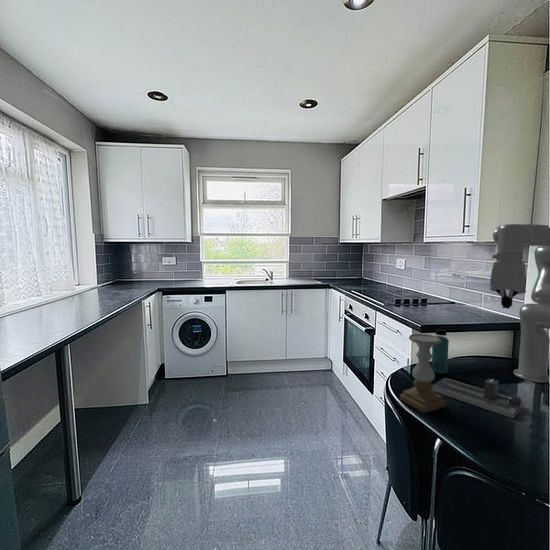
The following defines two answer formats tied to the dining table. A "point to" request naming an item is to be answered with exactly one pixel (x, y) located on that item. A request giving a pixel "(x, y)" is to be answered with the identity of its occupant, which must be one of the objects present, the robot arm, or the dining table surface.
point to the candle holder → (423, 377)
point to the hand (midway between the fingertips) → (506, 307)
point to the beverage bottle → (440, 353)
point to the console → (479, 397)
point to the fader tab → (491, 389)
